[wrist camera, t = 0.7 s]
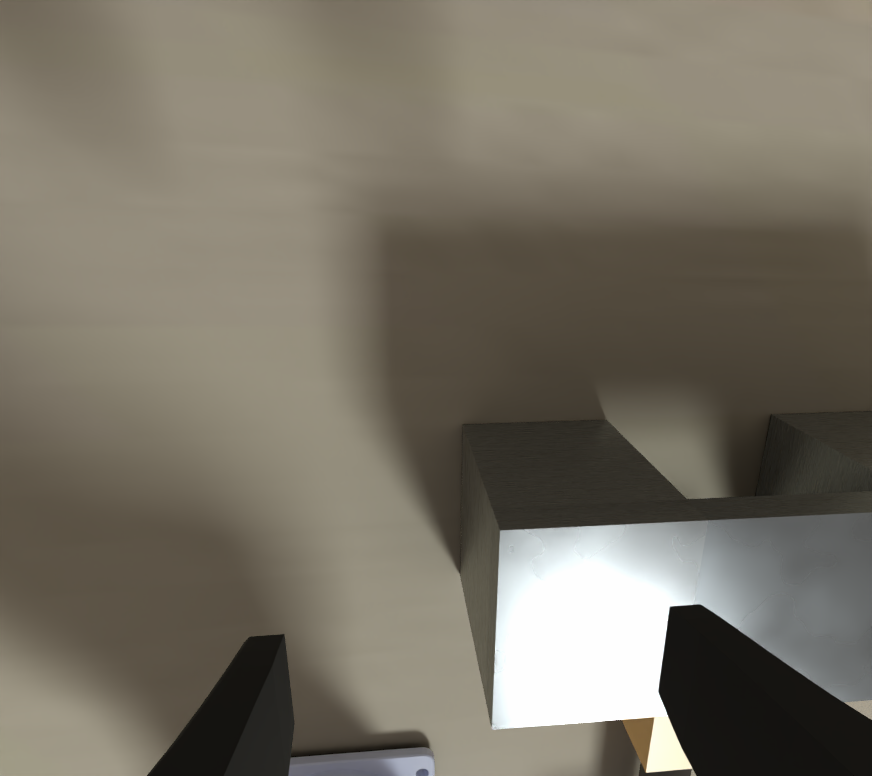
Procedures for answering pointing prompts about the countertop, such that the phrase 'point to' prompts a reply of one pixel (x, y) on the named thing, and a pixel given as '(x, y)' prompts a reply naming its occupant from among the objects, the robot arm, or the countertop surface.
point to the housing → (658, 563)
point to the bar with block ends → (657, 747)
